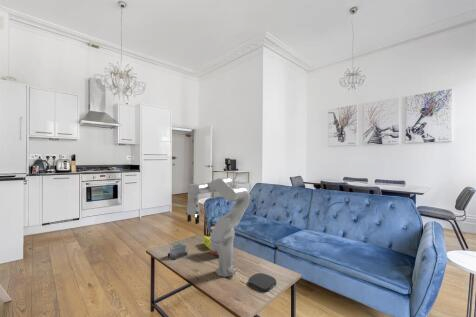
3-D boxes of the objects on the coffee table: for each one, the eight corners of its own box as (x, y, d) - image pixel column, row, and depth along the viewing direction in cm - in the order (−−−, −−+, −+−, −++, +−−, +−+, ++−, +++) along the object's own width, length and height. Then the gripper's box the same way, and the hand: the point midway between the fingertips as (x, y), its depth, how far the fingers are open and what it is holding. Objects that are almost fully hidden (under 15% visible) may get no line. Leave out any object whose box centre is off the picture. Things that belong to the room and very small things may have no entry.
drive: (185, 253, 173) (185, 244, 174) (173, 258, 165) (173, 248, 165) (181, 251, 177) (182, 242, 177) (169, 256, 168) (170, 246, 168)
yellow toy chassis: (203, 244, 196) (203, 234, 196) (208, 243, 198) (209, 233, 199) (209, 250, 182) (209, 240, 182) (215, 249, 184) (215, 239, 184)
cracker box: (209, 253, 177) (209, 227, 177) (214, 250, 182) (214, 225, 182) (222, 258, 168) (222, 230, 168) (227, 255, 173) (227, 229, 173)
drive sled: (187, 255, 172) (187, 252, 172) (174, 260, 163) (174, 256, 164) (181, 251, 178) (181, 248, 178) (167, 256, 169) (167, 253, 169)
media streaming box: (259, 275, 145) (259, 270, 145) (278, 283, 135) (278, 278, 135) (245, 284, 133) (245, 279, 133) (265, 294, 124) (265, 289, 124)
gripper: (204, 200, 163) (204, 223, 163) (190, 198, 175) (190, 219, 174) (196, 201, 158) (196, 225, 157) (182, 199, 169) (182, 221, 168)
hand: (193, 222), depth 166 cm, fingers open, 9 cm apart
